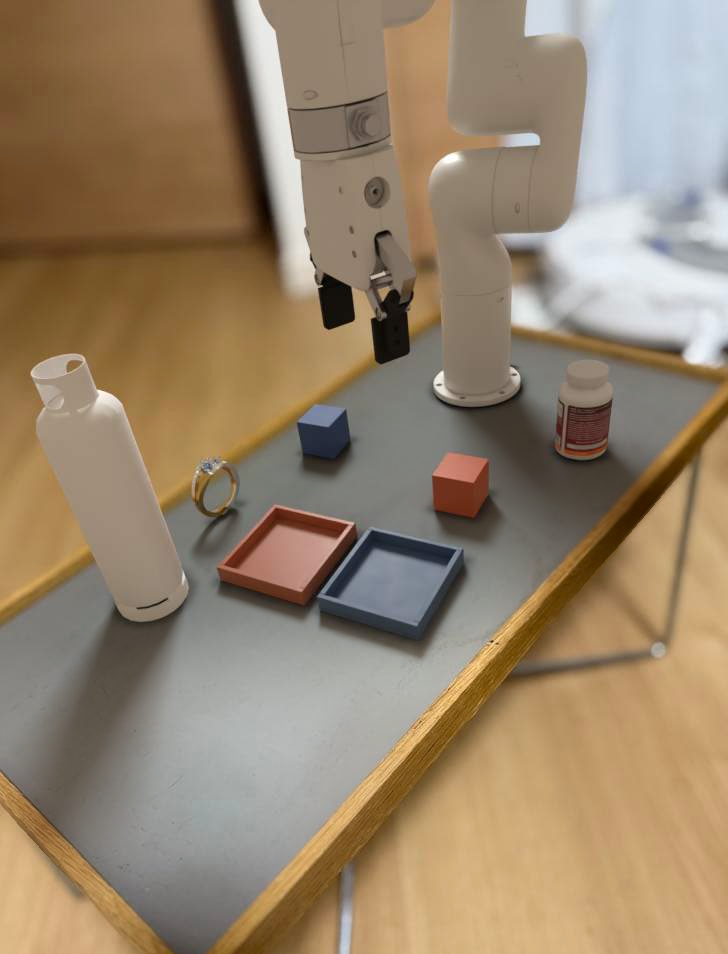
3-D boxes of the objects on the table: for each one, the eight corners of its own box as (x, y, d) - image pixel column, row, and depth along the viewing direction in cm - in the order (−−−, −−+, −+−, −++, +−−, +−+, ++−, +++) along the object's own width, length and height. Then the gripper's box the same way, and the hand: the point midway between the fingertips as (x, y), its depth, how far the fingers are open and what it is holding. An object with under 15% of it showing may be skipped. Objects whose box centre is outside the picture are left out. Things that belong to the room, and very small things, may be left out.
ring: (235, 495, 92) (221, 443, 87) (251, 502, 90) (238, 450, 85) (194, 523, 88) (177, 470, 83) (210, 532, 86) (193, 478, 81)
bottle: (102, 611, 78) (-9, 383, 60) (147, 565, 83) (56, 342, 65) (160, 629, 74) (59, 392, 57) (202, 579, 80) (122, 348, 62)
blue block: (320, 434, 100) (314, 403, 97) (350, 440, 98) (346, 408, 95) (302, 453, 97) (296, 422, 94) (333, 459, 95) (328, 427, 92)
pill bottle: (617, 448, 87) (628, 366, 80) (582, 468, 85) (591, 386, 78) (577, 430, 92) (585, 351, 85) (543, 448, 90) (548, 369, 83)
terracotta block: (449, 486, 86) (448, 452, 83) (488, 493, 84) (488, 458, 81) (433, 509, 83) (431, 475, 80) (474, 518, 81) (473, 483, 78)
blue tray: (371, 539, 81) (369, 525, 80) (464, 561, 76) (463, 547, 74) (319, 610, 73) (316, 596, 72) (418, 640, 68) (417, 626, 67)
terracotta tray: (277, 516, 87) (274, 503, 85) (357, 536, 82) (355, 522, 80) (220, 580, 79) (216, 567, 78) (304, 606, 74) (301, 592, 73)
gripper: (448, 125, 48) (454, 359, 58) (331, 108, 60) (355, 302, 71) (351, 152, 46) (377, 389, 56) (252, 128, 58) (288, 325, 69)
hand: (364, 340), depth 64 cm, fingers open, 9 cm apart
